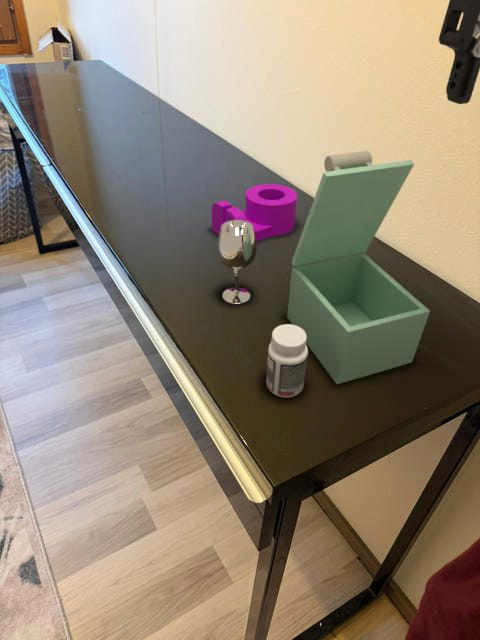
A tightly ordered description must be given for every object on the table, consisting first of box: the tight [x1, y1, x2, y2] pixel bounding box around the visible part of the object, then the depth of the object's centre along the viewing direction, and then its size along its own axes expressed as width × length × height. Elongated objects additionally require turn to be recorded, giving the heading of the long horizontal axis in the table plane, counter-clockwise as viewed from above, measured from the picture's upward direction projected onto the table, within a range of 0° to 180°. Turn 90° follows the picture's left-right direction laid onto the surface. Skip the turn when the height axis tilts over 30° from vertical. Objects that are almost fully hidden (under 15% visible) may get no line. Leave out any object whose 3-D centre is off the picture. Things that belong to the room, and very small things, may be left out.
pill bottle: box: [265, 323, 309, 399], centre depth 55 cm, size 5×5×8 cm
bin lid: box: [291, 150, 415, 267], centre depth 59 cm, size 16×12×5 cm
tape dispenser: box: [211, 183, 298, 242], centre depth 88 cm, size 16×10×6 cm, turn 125°
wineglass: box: [216, 220, 258, 305], centre depth 68 cm, size 6×6×12 cm
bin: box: [286, 252, 431, 385], centre depth 62 cm, size 15×12×9 cm
